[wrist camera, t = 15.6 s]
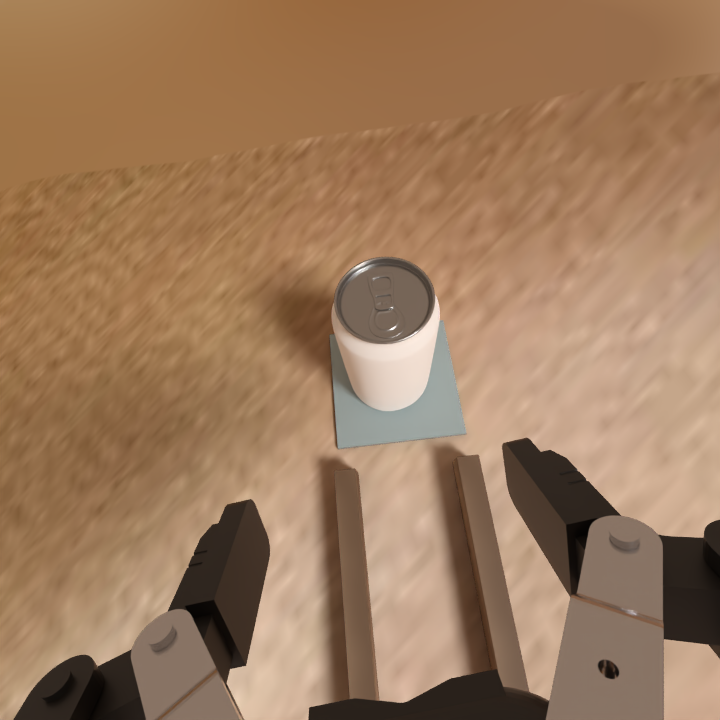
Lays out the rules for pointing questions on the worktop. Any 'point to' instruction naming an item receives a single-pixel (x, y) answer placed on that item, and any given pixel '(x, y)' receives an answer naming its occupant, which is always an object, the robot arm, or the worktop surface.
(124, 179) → the worktop surface
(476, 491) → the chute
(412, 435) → the pad
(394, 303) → the can
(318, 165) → the worktop surface
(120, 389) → the worktop surface
